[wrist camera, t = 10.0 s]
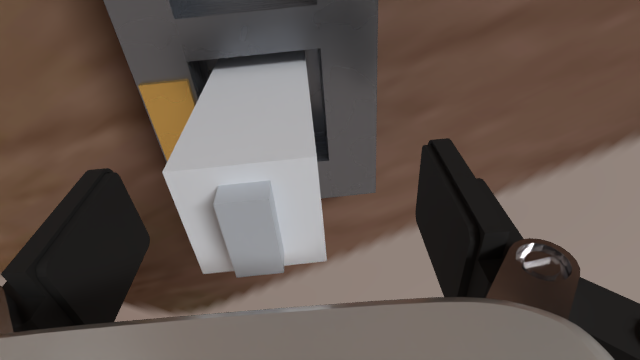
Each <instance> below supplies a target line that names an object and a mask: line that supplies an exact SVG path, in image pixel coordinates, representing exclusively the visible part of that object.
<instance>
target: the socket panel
mask: <svg viewBox="0 0 640 360" xmlns="http://www.w3.org/2000/svg"><path fill="white" fill-rule="evenodd" d="M103 1H104V3H105V6H106V8H107V11H108V14H109V16H110V19H111V21H112V24H113V26H114V29H115V32H116V34H117V37H118V39H119V42H120V44H121V47H122V50H123V52H124V55H125V57H126V60H127V62H128V65H129V68H130V70H131V73H132V75H133V78H134V80H135V83H136V86H137V88H138V91H139V93H140V96H141V98H142V101H143V104H144V106H145V109H146V111H147V114H148V116H149V119H150V122H151V124H152V127H153V129H154V132H155V134H156V137H157V140H158V142H159V145H160V147H161V150H162V152H163V155H164V158H165V160H166V163H167V162H168V160H169V158H170V156H171V154H172V152H173V150H174V148H175V145H176V143H177V141H178V139H179V137H180V135H181V133H182V131H183V129H184V127H185V125H186V123H187V121H188V119H189V117H190V115H191V113H192V111H193V109H194V107H195V105H196V103H197V101H198V99H199V97H200V95H201V93H202V91H203V89H204V87H205V85H206V83H207V81H208V79H209V77H210V75H211V73H212V71H213V69H214V67H215V65H216V63H217V61H218V59H219V58H229V57H239V56H249V55H259V54H269V53H279V52H289V51H299V50H305V59H306V67H307V76H308V85H309V93H310V102H311V111H312V119H313V128H314V137H315V146H316V154H317V164H318V174H319V185H320V195H321V198H329V197H338V196H348V195H357V194H367V193H375V189H376V113H377V37H378V0H103Z"/></svg>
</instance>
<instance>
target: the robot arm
mask: <svg viewBox="0 0 640 360" xmlns="http://www.w3.org/2000/svg"><path fill="white" fill-rule="evenodd" d="M416 221H417V224H418V227H419V230H420V233H421V235H422V238H423V240H424V243H425V246H426V249H427V251H428V254H429V257H430V259H431V262H432V265H433V268H434V271H435V273H436V276H437V279H438V281H439V284H440V287H441V289H442V292H443V295H444V297H438V298H437V297H436V298H416V299H400V300H384V301H368V302H355V303H343V304H329V305H316V306H303V307H291V308H278V309H265V310H253V311H240V312H227V313H215V314H203V315H191V316H179V317H167V318H156V319H146V320H145V319H144V320H133V321H122V322H114V321H115V319H116V316H117V314H118V312H119V310H120V308H121V306H122V303H123V301H124V299H125V297H126V295H127V292H128V290H129V288H130V286H131V284H132V282H133V279H134V277H135V275H136V273H137V271H138V268H139V266H140V264H141V262H142V260H143V258H144V255H145V253H146V251H147V249H148V247H149V242H150V238H149V235H148V232H147V230H146V228H145V226H144V224H143V222H142V220H141V218H140V216H139V214H138V212H137V210H136V208H135V206H134V204H133V202H132V200H131V198H130V196H129V194H128V192H127V190H126V188H125V186H124V184H123V182H122V180H121V178H120V176H119V175H118V174H117V173H115V172H113V171H112V170H111V169H108V168H106V169H95V170H88V171H87V172H85V174H84V175H83V176H82V177H81V178H80V180H79V181H78V182H77V183H76V184H75V186H74V187H73V188H72V189H71V190H70V192H69V193H68V194H67V195H66V196H65V198H64V199H63V200H62V201H61V202H60V204H59V205H58V206H57V207H56V208H55V210H54V211H53V212H52V213H51V214H50V216H49V217H48V218H47V219H46V220H45V222H44V223H43V224H42V225H41V227H40V228H39V229H38V230H37V231H36V233H35V234H34V235H33V236H32V237H31V239H30V240H29V241H28V242H27V243H26V245H25V246H24V247H23V248H22V249H21V251H20V252H19V253H18V254H17V255H16V257H15V258H14V259H13V260H12V261H11V263H10V264H9V265H8V266H7V267H6V269H5V270H4V271H3V272H2V273H1V275H2V276H3V277H4V278H5V279H6V280H7V282H6V283H5V284H4V285H3V287H2V286H0V360H640V304H639V303H637V302H635V301H632V300H630V299H628V298H626V297H623V296H621V295H619V294H617V293H614V292H612V291H610V290H608V289H605V288H603V287H601V286H598V285H596V284H594V283H592V282H590V281H587V280H585V279H583V278H581V277H580V267H579V265H578V263H577V261H576V260H575V258H574V257H573V256H572V255H571V254H570V253H569V252H567V251H566V250H565V249H563V248H562V247H560V246H558V245H556V244H554V243H551V242H548V241H545V240H541V239H530V238H529V239H523V237H522V236H521V234H520V233H519V231H518V230H517V229H516V227H515V226H514V224H513V223H512V221H511V220H510V218H509V217H508V215H507V214H506V212H505V211H504V210H503V208H502V206H501V205H500V203H499V202H498V201H497V199H496V198H495V196H494V195H493V193H492V192H491V190H490V189H489V187H488V186H487V184H486V183H485V182H484V181H483V179H480V178H477V179H476V178H475V176H474V175H473V173H472V172H471V170H470V169H469V167H468V166H467V164H466V163H465V161H464V159H463V158H462V156H461V155H460V153H459V152H458V150H457V149H456V147H455V146H454V144H453V143H452V141H451V140H450V139H448V138H447V139H436V140H430V141H429V143H428V145H424V146H423V147H422V154H421V164H420V174H419V184H418V194H417V203H416Z"/></svg>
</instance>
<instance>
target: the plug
mask: <svg viewBox="0 0 640 360" xmlns="http://www.w3.org/2000/svg"><path fill="white" fill-rule="evenodd" d="M162 173H163V175H164V178H165V180H166V183H167V185H168V188H169V190H170V193H171V195H172V198H173V200H174V203H175V205H176V208H177V210H178V213H179V215H180V218H181V220H182V223H183V225H184V228H185V230H186V233H187V235H188V238H189V240H190V242H191V245H192V247H193V250H194V252H195V255H196V257H197V260H198V262H199V265H200V267H201V270H202V272H203V274H209V273H218V272H228V271H235V274H236V277H247V276H256V275H266V274H275V273H284V266H285V265H294V264H304V263H313V262H323V261H327V257H326V247H325V236H324V226H323V216H322V205H321V195H320V185H319V174H318V164H317V154H316V146H315V137H314V128H313V119H312V111H311V102H310V93H309V85H308V76H307V67H306V59H305V50H299V51H289V52H279V53H269V54H259V55H249V56H239V57H229V58H219V59H218V61H217V63H216V65H215V67H214V69H213V71H212V73H211V75H210V77H209V79H208V81H207V83H206V85H205V87H204V89H203V91H202V93H201V95H200V97H199V99H198V101H197V103H196V105H195V107H194V109H193V111H192V113H191V115H190V117H189V119H188V121H187V123H186V125H185V127H184V129H183V131H182V133H181V135H180V137H179V139H178V141H177V143H176V145H175V148H174V150H173V152H172V154H171V156H170V158H169V160H168V162H167V164H166V166H165V168H164V170H163V172H162Z"/></svg>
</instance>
